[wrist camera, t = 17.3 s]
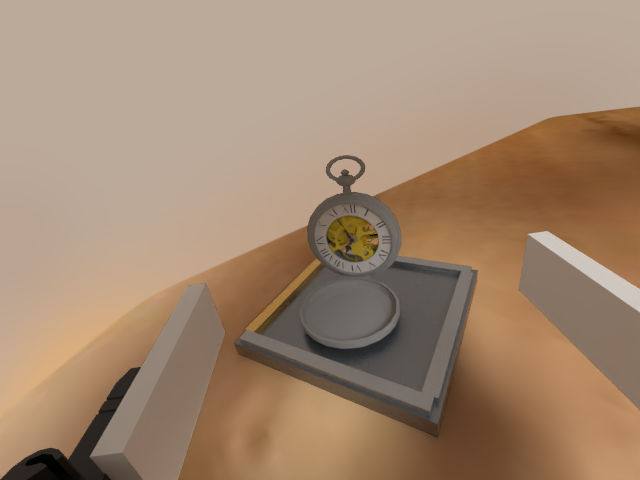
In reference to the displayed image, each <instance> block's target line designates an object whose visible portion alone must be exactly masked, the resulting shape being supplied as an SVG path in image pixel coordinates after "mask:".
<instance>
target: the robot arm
mask: <svg viewBox="0 0 640 480" xmlns="http://www.w3.org/2000/svg"><path fill="white" fill-rule="evenodd" d="M519 291H520V292H521V293H522V294H523V295H524V296H525V297H526V298H527V299H528V300H529V301H530V302H531V303H532V304H533V305H534V306H535V307H536V308H537V309H538V310H539V311H540V312H541V313H542V314H543V315H544V316H545V317H546V318H547V319H548V320H549V321H550V322H551V323H552V324H553V325H554V326H555V327H556V328H557V329H558V330H559V331H560V332H561V333H562V334H563V335H564V336H565V337H566V338H567V339H568V340H569V341H570V342H571V343H572V344H573V345H574V346H575V347H576V348H577V349H579V350H580V351H581V352H582V353H583V354H584V355H585V356H586V357H587V358H588V359H589V360H590V361H591V362H592V363H593V364H594V365H595V366H596V367H597V368H598V369H599V370H600V371H601V372H602V373H603V374H604V375H605V376H606V377H607V378H608V379H609V380H610V381H611V382H612V383H613V384H614V385H615V386H616V387H617V388H618V389H619V390H620V391H621V392H622V393H623V394H624V395H625V396H626V397H627V398H628V399H629V400H630V401H631V402H632V403H633V404H634V405H635V406H636V407H637V408H638V409H639V410H640V289H638V288H637V287H635V286H634V285H632V284H631V283H629V282H627V281H626V280H624V279H623V278H621V277H619V276H618V275H616V274H615V273H613V272H611V271H610V270H608V269H607V268H605V267H604V266H602V265H600V264H599V263H597V262H596V261H594V260H592V259H591V258H589V257H588V256H586V255H584V254H583V253H581V252H580V251H578V250H577V249H575V248H573V247H572V246H570V245H569V244H567V243H565V242H564V241H562V240H561V239H559V238H558V237H556V236H554V235H553V234H551V233H550V232H548V231H544V232H538V233H531V234H528V236H527V242H526V248H525V254H524V260H523V266H522V272H521V278H520V284H519ZM224 336H225V330H224V328H223V325H222V323H221V320H220V317H219V315H218V312H217V310H216V307H215V305H214V302H213V299H212V297H211V294H210V292H209V289H208V287H207V284H206V283H203V284H197V285H190V286H188V287H187V289H186V290H185V292H184V294H183V296H182V297H181V299H180V301H179V302H178V304H177V306H176V308H175V309H174V311H173V313H172V315H171V316H170V318H169V320H168V322H167V323H166V325H165V327H164V329H163V330H162V332H161V334H160V335H159V337H158V339H157V341H156V342H155V344H154V346H153V348H152V349H151V351H150V353H149V355H148V356H147V358H146V360H145V362H144V363H143V365H142V367H138V368H131V369H130V370H129V371H128V372H127V373H126V374H125V375H124V376H123V377H122V378H121V379H120V380H119V381H118V382H117V383H116V384H115V386H114V388H113V389H112V391H111V392H110V394H109V396H108V397H107V401H105V402H104V404H103V405H102V407H101V408H100V410H99V414H98V415H96V416H95V418H94V419H93V421H92V423H91V424H90V426H89V427H88V429H87V431H86V432H85V434H84V435H83V437H82V439H81V440H80V442H79V443H78V445H77V447H76V448H75V450H74V451H73V453H72V455H71V456H70V458H69V459H67V458H66V457H65V456H64V455H63V454H62V453H61V452H60V450H58V449H54V448H48V449H44V450H40V451H37V452H36V453H34V454H32V455H30V456H28V457H26V458H24V459H23V460H22V461H21V462H19V463H18V464H17V465H15V466H14V467H13V468H11V469H10V470H9V471H8V472H7V473H6V475H5V476H4V477H3V478H2V479H1V480H178V479H179V476H180V473H181V470H182V466H183V463H184V460H185V457H186V454H187V451H188V448H189V445H190V442H191V438H192V435H193V432H194V429H195V426H196V423H197V420H198V417H199V414H200V410H201V407H202V404H203V401H204V398H205V395H206V392H207V389H208V386H209V382H210V379H211V376H212V373H213V370H214V367H215V364H216V361H217V358H218V354H219V351H220V348H221V345H222V342H223V339H224Z"/></svg>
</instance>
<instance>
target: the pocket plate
mask: <svg viewBox="0 0 640 480" xmlns="http://www.w3.org/2000/svg"><path fill="white" fill-rule="evenodd" d="M340 250H341V249H340ZM341 251H342V250H341ZM343 252H345V253H346V249H343ZM347 253H348V254H351V255H355V254H352V253H351V250H349V251H348V252H347ZM364 254H367V253H366V252H364ZM477 272H478V270H472V267H471V266H464V265H457V264H450V263H443V262H436V261H430V260H423V259H416V258H409V257H402V256H397V258H396V259H395V261H394V262H393V264H392V265H391V266H390V267H388V268H387V269H386V270H385V271H383V272H382V273H379V274H377V275H374V276H372V277H371V279H373V280H376V281H379V282H382V283H384V284H385V285H387V286H388V287H390V288H391V289H392V290H393V292H394V293H395V294H396V295H397V297H398V299H399V306H400V315H399V319H398V321H397V324H396V326H395V327H394V328H393V329H392V331H391V332H390V333H389V334H388V335H386V336H385V337H384V338H382V339H381V340H379V341H377V342H375V343H372V344H370V345H367V346H365V347H360V348H351V349H339V348H333V347H329V346H325V345H323V344H320V343H319V342H317V341H315V340H313V339H312V338H311V337H310V336H309V335H308V334H307V333H306V332H305V329H304V327H303V325H302V323H301V321H300V307H301V305H302V303H303V301H304V299H305V298H306V296H307V295H308V294H309V293H311V292H312V291H313V290H314V289H315V288H317V287H318V286H320V285H322V284H324V283H326V282H328V281H332V280H335V279H339V278H343V275H339V274H337V273H335V272H333V271H331V270H329V269H328V268H327V267H326V266H324V265H323V264H322V263H321V262H320V261H319V260H318V259H317V258H316V259H315V260H314V261H313V262H312V263H311V264H310V265H309V266H308V267H307V268H306V269H305V270H304V271H303V272H302V273H301V274H300V275H299V276H298V277H297V278H296V279H295V280H294V281H293V282H292V283H291V284H290V285H289V286H288V287H287V288H286V289H285V290H284V291H283V292H282V293H281V294H280V295H279V296H278V297H277V298H276V299H275V300H274V301H273V302H272V303H271V304H270V305H269V306H268V307H267V308H266V309H265V310H264V311H263V312H262V313H261V314H260V315H259V316H258V317H257V318H256V319H255V320H254V321H253V322H252V323H251V324H250V325H249V326H248V327H247V328H246V329H245V330H246V332H245V333H244V334H243V335H242V336H241V337H240V338H239V339H238V340H237V341H236V342H235V343H234V344H235V346H236V349H237V351H238V354H241V355H243V356H245V357H248V358H250V359H252V360H255V361H257V362H260V363H262V364H264V365H267V366H269V367H272V368H274V369H276V370H279V371H281V372H283V373H286V374H288V375H291V376H293V377H295V378H298V379H300V380H303V381H305V382H307V383H310V384H312V385H314V386H317V387H319V388H322V389H324V390H326V391H329V392H331V393H333V394H336V395H338V396H341V397H343V398H345V399H348V400H350V401H353V402H355V403H357V404H360V405H362V406H364V407H367V408H369V409H372V410H374V411H376V412H379V413H381V414H384V415H386V416H388V417H391V418H393V419H395V420H398V421H400V422H403V423H405V424H407V425H410V426H412V427H415V428H417V429H419V430H422V431H424V432H426V433H429V434H431V435H434V436H436V437H438V434H439V430H440V426H441V422H442V418H443V414H444V410H445V406H446V402H447V398H448V394H449V390H450V386H451V382H452V378H453V374H454V370H455V366H456V362H457V358H458V354H459V350H460V346H461V342H462V338H463V334H464V330H465V326H466V322H467V318H468V314H469V310H470V306H471V302H472V298H473V294H474V290H475V286H476V282H477Z"/></svg>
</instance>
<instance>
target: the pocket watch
mask: <svg viewBox="0 0 640 480" xmlns="http://www.w3.org/2000/svg"><path fill="white" fill-rule="evenodd" d="M341 159H352V160H355V161H357V162H358V163H359V164H360V166H361V170H360V172H359V173H358V174H357V175H356V176H355V177H353V176H352V175H347V174H348V173H349V171H347V170H343V171H342V172H341V174H342V176H339V177H338V178H336V177H334V176H333V175H332V174H331V173H330V168H331V166H332V164H333V163H334V162H336V161H337V160H341ZM364 172H365V165H364V163H363V161H362V160H361V159H359V158H357V157H354V156H349V155H348V156H347V155H345V156H340V157H337V158H335V159H333V160H331V161H330V162H329V163H328V164H327V167H326V173H327V175H328V176H329V178H331V179H333V180H335V181H336V182H337V183H338V184H339V185H341V186H343V193H341V194H337V195H334V196H332V197H330V198H327V199H326V200H325V201H323V202H322V203H321V204H320V205H319V206H318V207H317V208H316V209H315V211H314V212H313V214H312V215H311V217H310V220H309V224H308V227H307V233H308V242H309V245H310V248H311V250H312V251H313V253H314V255H315V256H316V258H317V259H318V260H319V261H320V262H321V263H322V264H323V265H324V266H326V267H327V268H328V269H329V270H331V271H333V272H335V273H337V274H339V275H343V278H339V279H335V280H332V281H328V282H326V283H324V284H322V285H320V286H318V287H317V288H315V289H314V290H313V291H312V292H311V293H309V294H308V295H307V296H306V298H305V299H304V301H303V303H302V305H301V307H300V321H301V323H302V325H303V327H304V329H305V332H306V333H307V334H308V335H309V336H310V337H311V338H312V339H313V340H315V341H317V342H319V343H320V344H323V345H325V346H329V347H333V348H339V349H351V348H360V347H365V346H367V345H370V344H372V343H375V342H377V341H379V340H381V339H382V338H384V337H385V336H386V335H388V334H389V333H390V332H391V331H392V329H393V328H394V327H395V326H396V324H397V321H398V319H399V315H400V306H399V299H398V297H397V295H396V294H395V293H394V292H393V290H392V289H391V288H390V287H388V286H387V285H385V284H384V283H382V282H379V281H376V280H373V279H371V277H372V276H374V275H377V274H379V273H382V272H383V271H385V270H386V269H387V268H388V267H390V266H391V265H392V264H393V262H394V261H395V259H396V258H397V256H398V253H399V250H400V247H401V230H400V227H399V224H398V221H397V219H396V218H395V216H394V214H393V213H392V212H391V210H390V209H389V208H388V207H387V206H386V205H385V204H383V203H382V202H381V201H380V200H378V199H376V198H374V197H372V196H370V195H367V194H362V193H357V192H351V190H350V185H352V184H353V183H354V182H355V180H356V179H358V178H360V177H361V176H362V175H363V173H364ZM369 225H373V227H374V230H373V231H372V230H371V229H369ZM365 226H368V229H365ZM368 230H371V231H369V232H368ZM374 232H377V233H378V234H374ZM370 233H373V234H371V235H369V234H370ZM332 238H333V239H335V240H333V239H332ZM369 238H370V239H372V240H373V239H374V238H379V243H378V245H374V244H370V243H366V242H369V241H367V239H369ZM372 240H371V241H372ZM333 242H334V243H333ZM346 242H347V243H348V242H350V243H348V245H347V246H342V245H343V244H344V243H346ZM339 243H341V244H340V245H339ZM335 244H336V246H335ZM364 246H367V248H364ZM368 246H370V247H371V248H370V249H369V247H368ZM340 249H341V250H342V251H341V250H340ZM343 249H346V253H345V252H343ZM349 250H351V253H352V254H355V255H351V254H348V253H347V252H348V251H349ZM364 252H366V253H367V254H364Z"/></svg>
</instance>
